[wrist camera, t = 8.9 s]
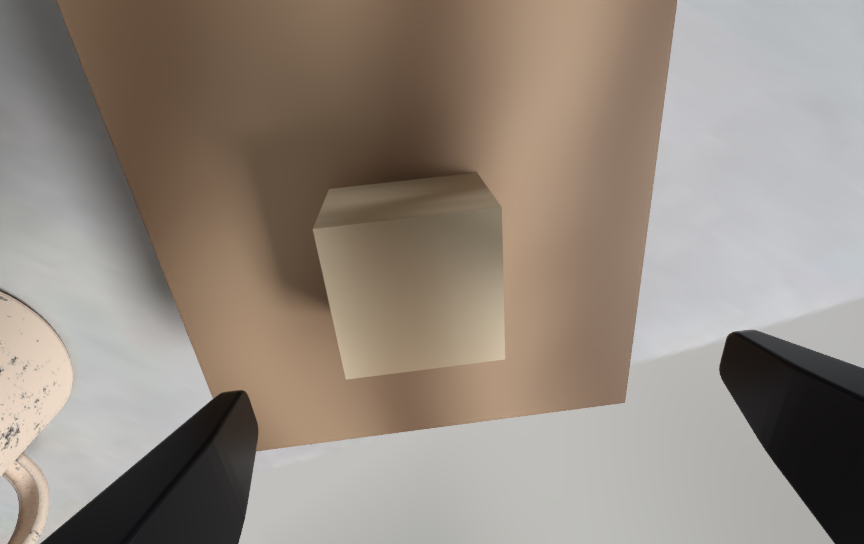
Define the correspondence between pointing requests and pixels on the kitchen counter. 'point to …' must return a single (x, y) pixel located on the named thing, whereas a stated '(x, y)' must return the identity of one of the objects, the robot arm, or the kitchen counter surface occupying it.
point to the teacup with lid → (28, 406)
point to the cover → (391, 196)
